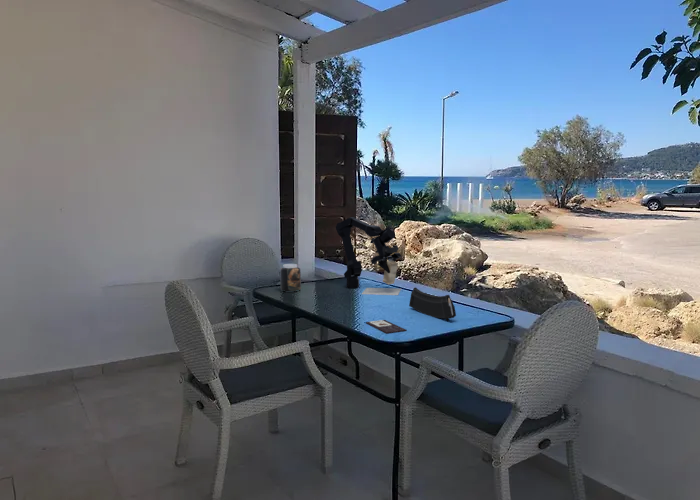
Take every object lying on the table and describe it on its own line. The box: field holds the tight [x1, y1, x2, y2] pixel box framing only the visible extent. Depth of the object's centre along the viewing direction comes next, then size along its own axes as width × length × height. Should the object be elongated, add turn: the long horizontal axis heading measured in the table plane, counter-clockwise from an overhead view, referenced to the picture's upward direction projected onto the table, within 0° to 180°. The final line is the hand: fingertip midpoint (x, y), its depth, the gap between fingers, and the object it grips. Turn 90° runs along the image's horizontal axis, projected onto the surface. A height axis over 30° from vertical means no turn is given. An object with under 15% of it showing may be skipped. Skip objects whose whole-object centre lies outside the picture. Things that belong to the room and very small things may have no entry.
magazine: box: [408, 287, 457, 322], centre depth 220 cm, size 17×3×30 cm
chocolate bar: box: [365, 319, 407, 335], centre depth 200 cm, size 9×1×18 cm
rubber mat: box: [361, 287, 402, 296], centre depth 273 cm, size 20×19×1 cm
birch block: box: [382, 260, 399, 285], centre depth 267 cm, size 4×4×12 cm
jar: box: [279, 263, 302, 291], centre depth 280 cm, size 12×12×15 cm
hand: (392, 272), depth 266 cm, fingers closed on birch block, 4 cm apart
